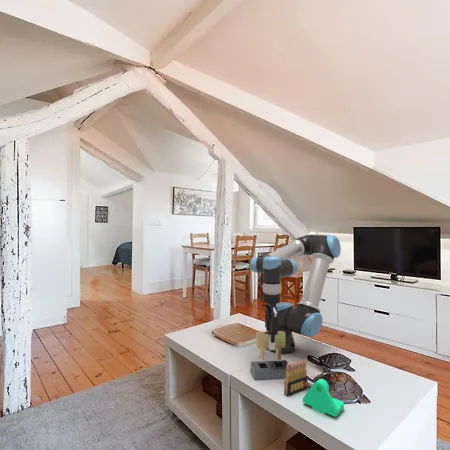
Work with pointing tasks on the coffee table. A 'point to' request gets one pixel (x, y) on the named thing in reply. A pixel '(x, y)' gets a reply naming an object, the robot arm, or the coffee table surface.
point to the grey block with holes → (269, 370)
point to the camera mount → (322, 399)
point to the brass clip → (263, 343)
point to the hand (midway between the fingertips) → (270, 347)
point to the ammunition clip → (295, 378)
